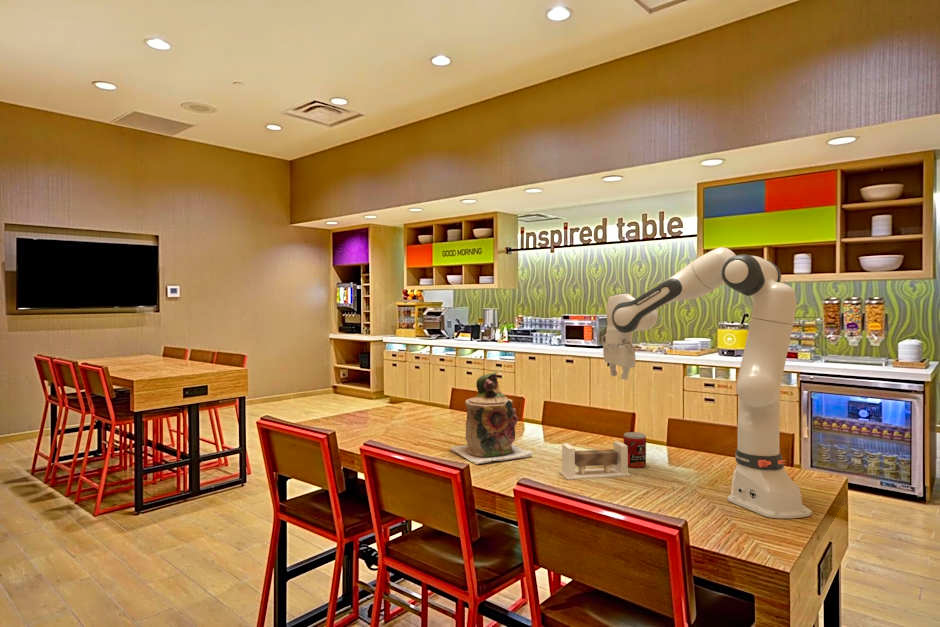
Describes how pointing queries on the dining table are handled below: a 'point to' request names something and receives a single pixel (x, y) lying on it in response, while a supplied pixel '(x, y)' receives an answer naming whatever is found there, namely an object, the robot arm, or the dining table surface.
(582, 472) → the peg frame
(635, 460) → the canned food
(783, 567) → the dining table surface
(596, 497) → the dining table surface
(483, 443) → the cookie jar
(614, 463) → the brown rectangular bar
